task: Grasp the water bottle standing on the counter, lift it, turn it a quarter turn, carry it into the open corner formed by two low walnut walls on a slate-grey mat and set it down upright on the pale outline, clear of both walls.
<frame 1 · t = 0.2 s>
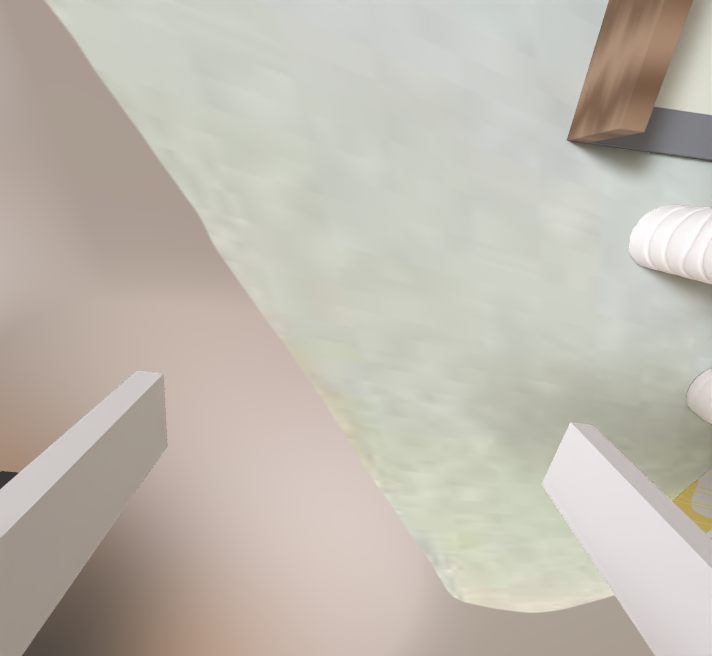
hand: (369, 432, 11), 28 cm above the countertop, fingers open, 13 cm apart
water bottle: (650, 229, 37), on the countertop
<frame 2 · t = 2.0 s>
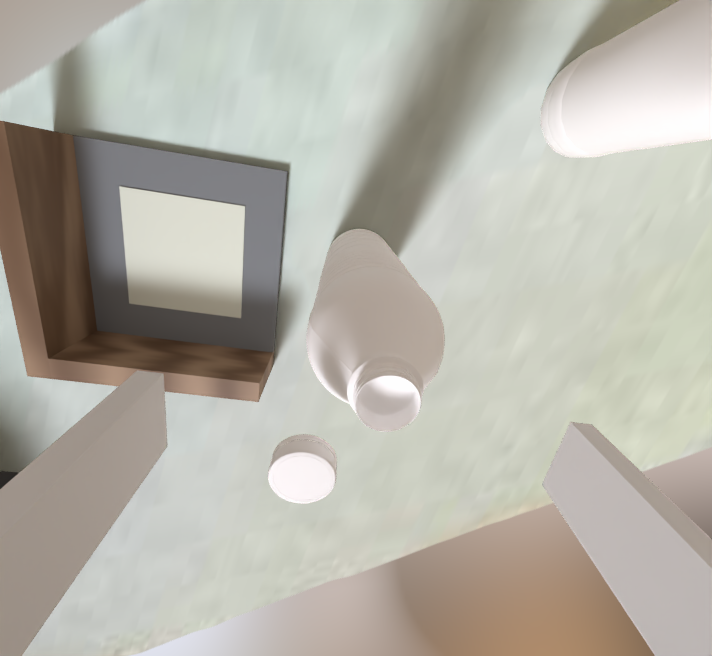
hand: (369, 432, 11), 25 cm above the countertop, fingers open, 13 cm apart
bottle: (582, 109, 31), on the countertop
water bottle: (351, 269, 35), on the countertop
mat: (187, 255, 34), on the countertop
corner walls: (187, 255, 34), resting in mat
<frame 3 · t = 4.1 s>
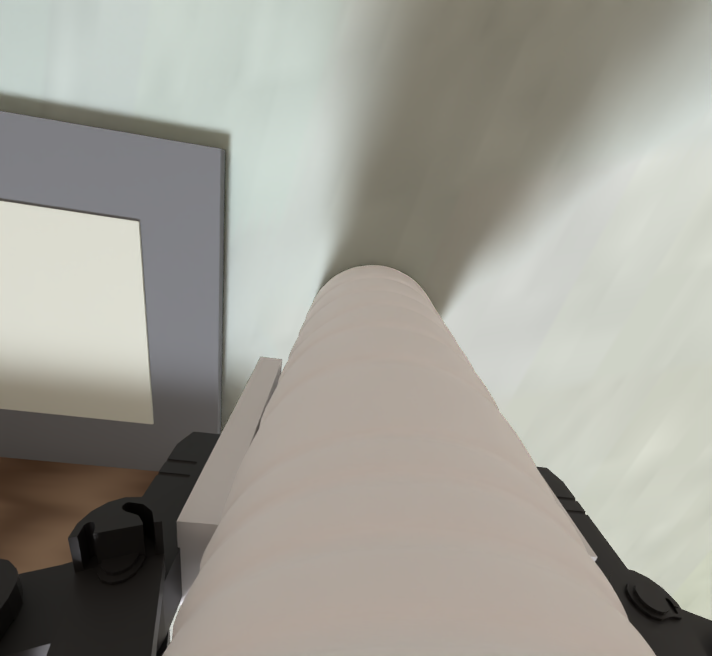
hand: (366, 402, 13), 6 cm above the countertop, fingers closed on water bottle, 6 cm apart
water bottle: (355, 337, 19), on the countertop, touching gripper
mat: (41, 315, 18), on the countertop
corner walls: (41, 315, 18), resting in mat
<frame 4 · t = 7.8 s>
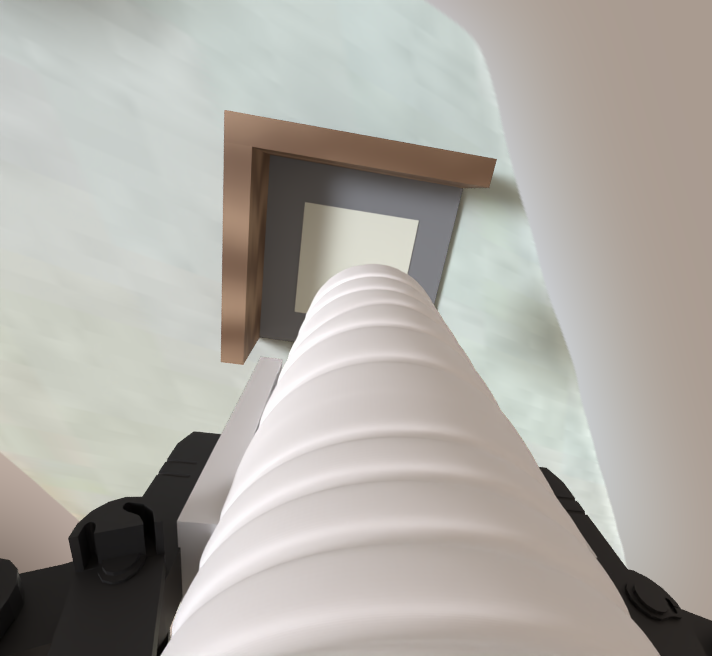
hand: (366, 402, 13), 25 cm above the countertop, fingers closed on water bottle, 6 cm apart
water bottle: (355, 336, 19), point 18 cm above the countertop, touching gripper
mat: (353, 266, 36), on the countertop
corner walls: (353, 266, 36), resting in mat
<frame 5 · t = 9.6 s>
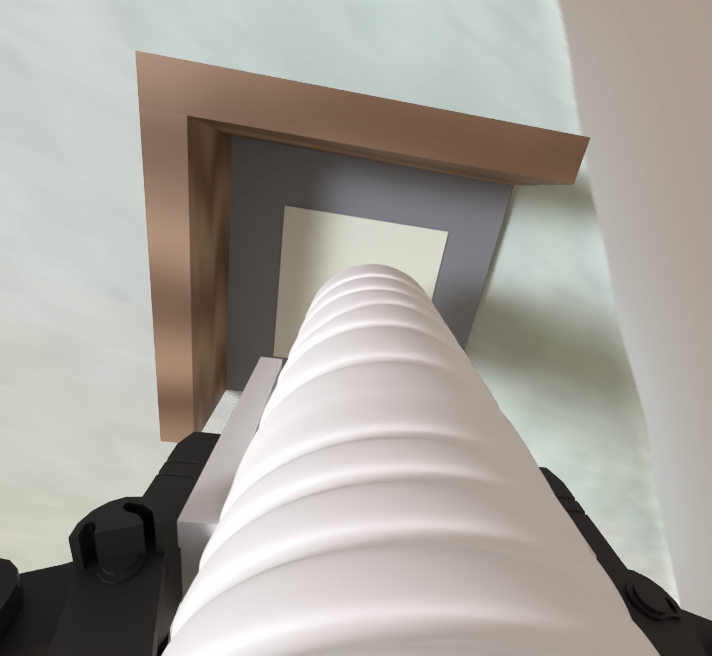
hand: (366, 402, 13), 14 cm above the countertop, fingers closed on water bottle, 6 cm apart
water bottle: (355, 336, 19), point 8 cm above the countertop, touching gripper
mat: (355, 295, 26), on the countertop
corner walls: (355, 295, 26), resting in mat
when the fingers open (7 cm above the countertop, at t = 11.2 s): water bottle stays where it is, resting on mat.
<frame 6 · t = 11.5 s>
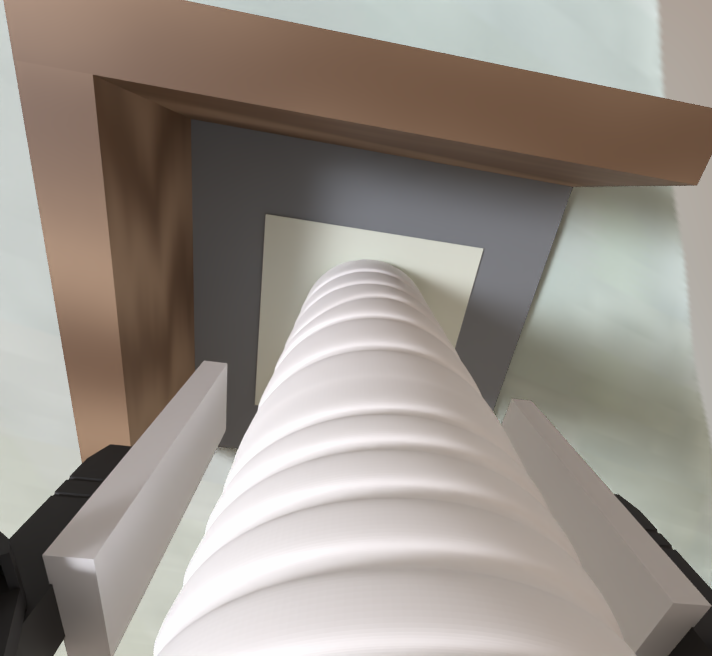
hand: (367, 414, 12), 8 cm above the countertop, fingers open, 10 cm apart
water bottle: (349, 329, 19), point 1 cm above the countertop, touching mat
mat: (359, 328, 20), on the countertop
corner walls: (359, 328, 20), resting in mat
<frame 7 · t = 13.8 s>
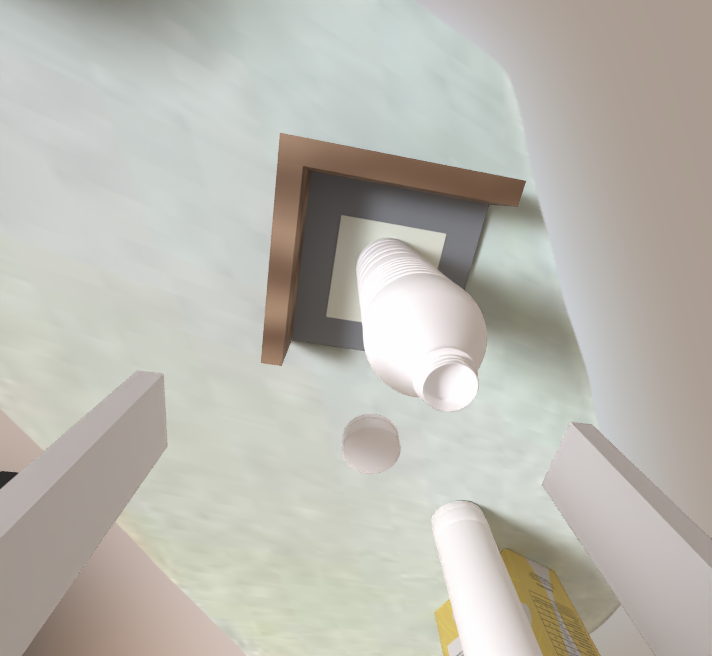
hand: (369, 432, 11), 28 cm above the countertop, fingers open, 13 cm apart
bottle: (456, 517, 52), on the countertop
water bottle: (378, 275, 37), point 1 cm above the countertop, touching mat
mat: (383, 275, 38), on the countertop
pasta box: (492, 591, 58), on the countertop
corner walls: (383, 275, 38), resting in mat
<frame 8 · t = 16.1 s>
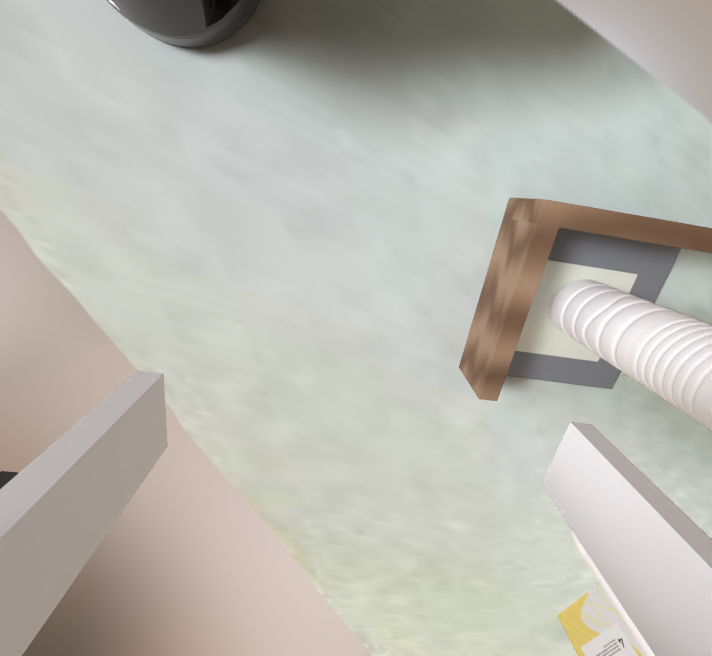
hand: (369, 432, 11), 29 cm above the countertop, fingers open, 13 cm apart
bottle: (594, 528, 55), on the countertop
water bottle: (567, 311, 40), point 1 cm above the countertop, touching mat
mat: (569, 311, 41), on the countertop
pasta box: (615, 595, 61), on the countertop
corner walls: (569, 311, 41), resting in mat
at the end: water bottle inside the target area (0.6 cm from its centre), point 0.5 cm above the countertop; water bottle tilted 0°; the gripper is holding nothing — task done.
